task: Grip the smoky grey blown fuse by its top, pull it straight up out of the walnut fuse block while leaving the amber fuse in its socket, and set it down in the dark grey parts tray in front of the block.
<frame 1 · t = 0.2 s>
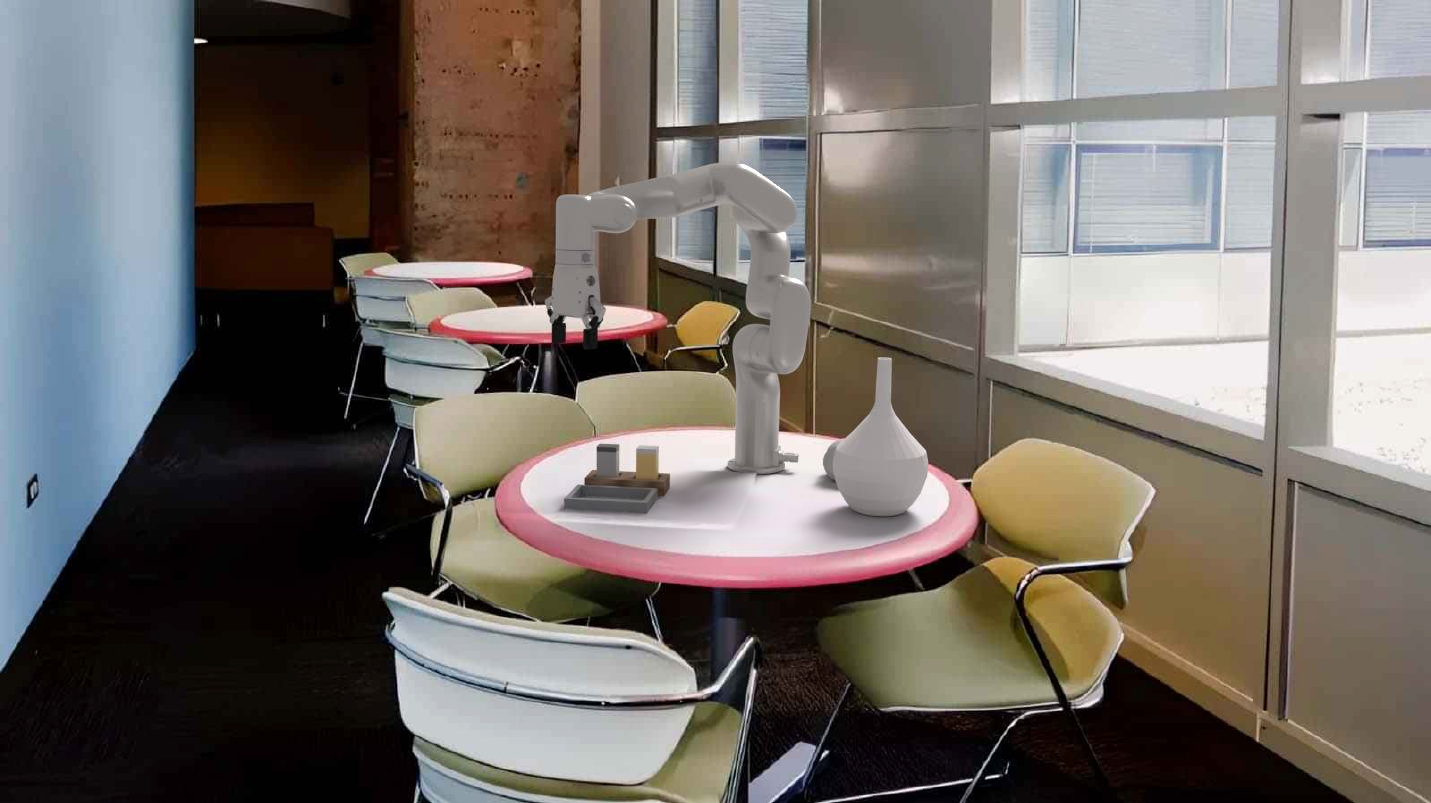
hand: (574, 346, 259), 30 cm above the table, fingers open, 9 cm apart
blown fuse: (607, 489, 264), point 1 cm above the table, touching fuse block
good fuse: (647, 491, 263), point 1 cm above the table, touching fuse block
vase: (878, 511, 256), on the table
parts tray: (611, 508, 253), on the table
fuse block: (627, 495, 263), on the table
headphones: (870, 480, 280), on the table
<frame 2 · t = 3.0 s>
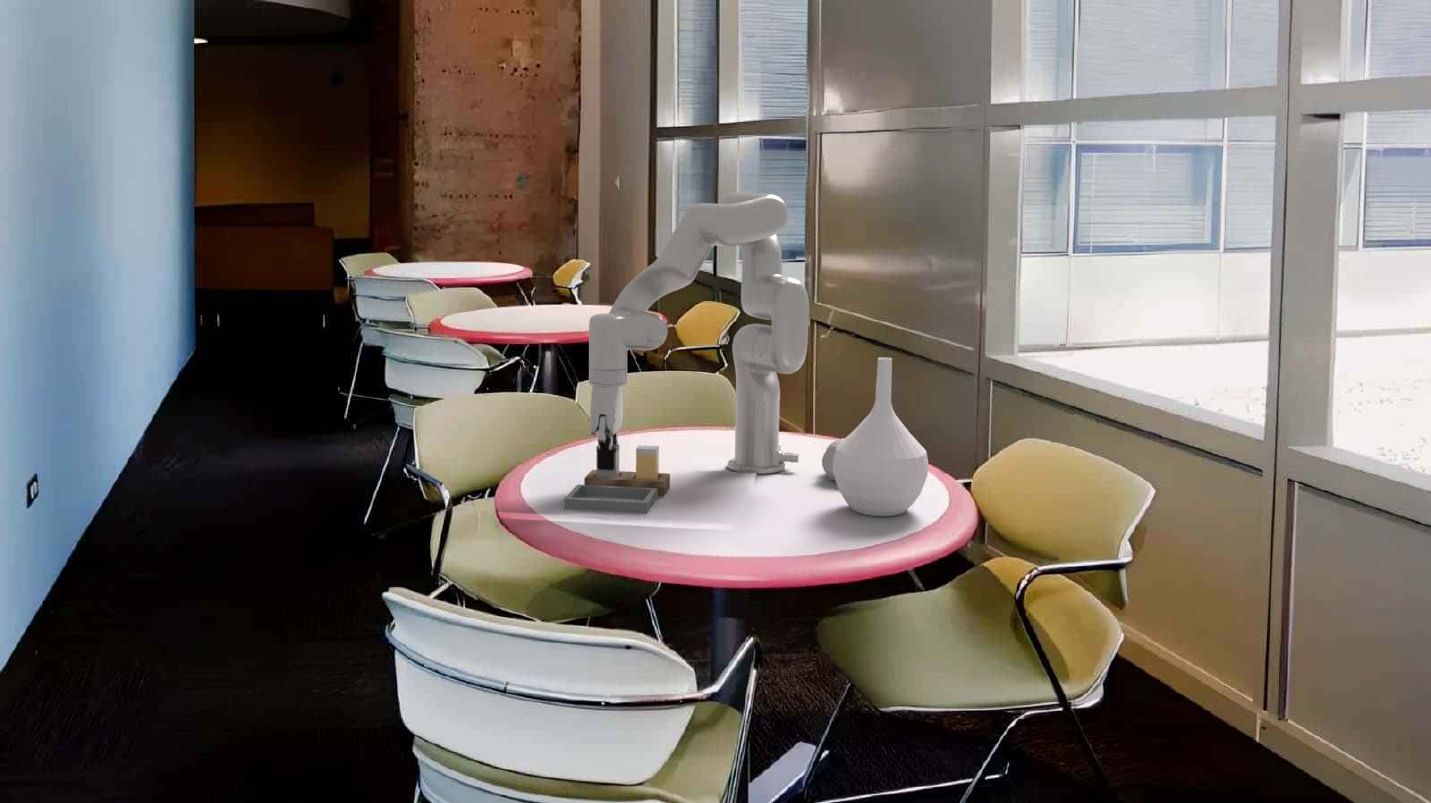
hand: (607, 466, 263), 6 cm above the table, fingers closed on blown fuse, 3 cm apart
blown fuse: (607, 489, 264), point 1 cm above the table, touching fuse block, gripper
everything else where it was.
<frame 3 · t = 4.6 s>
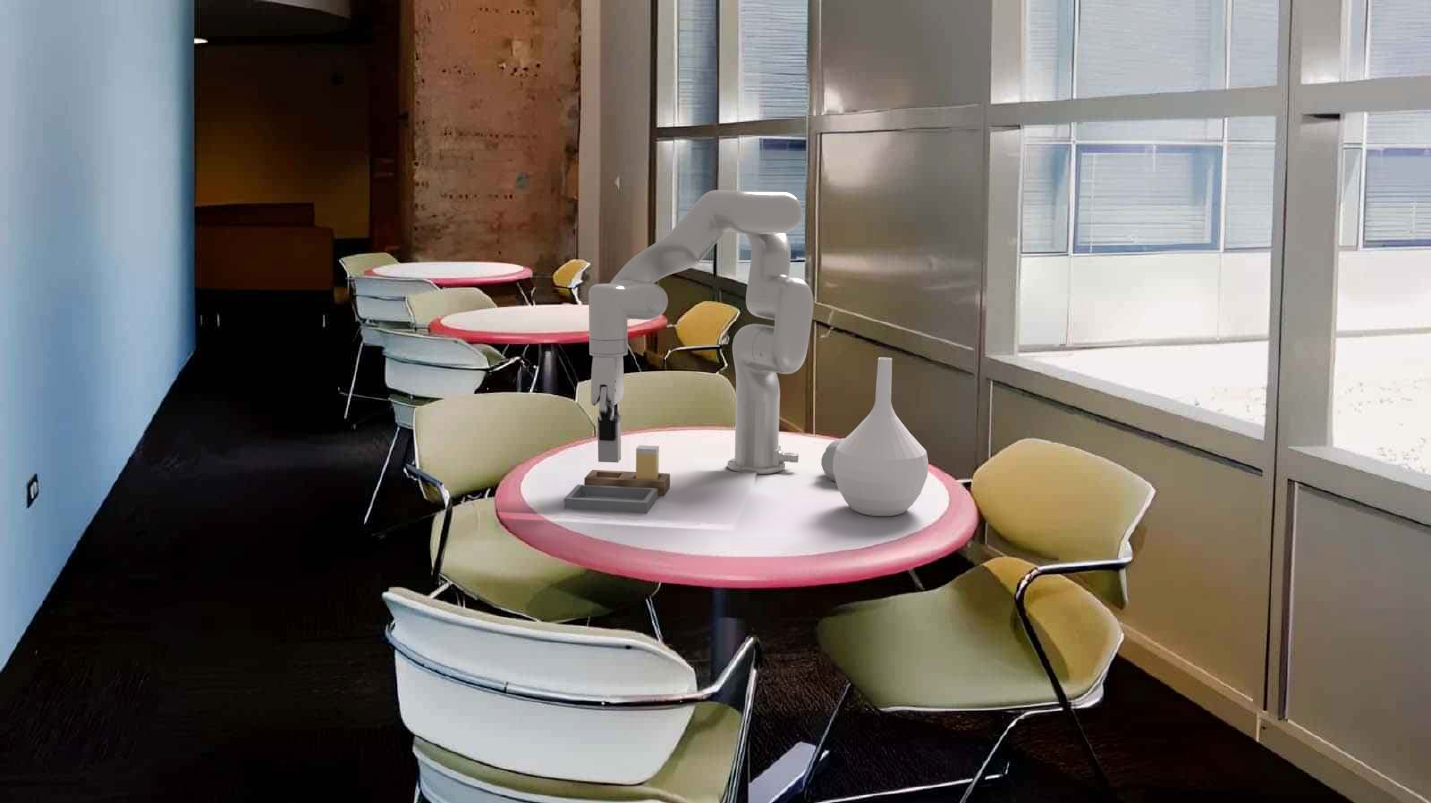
hand: (609, 437, 262), 12 cm above the table, fingers closed on blown fuse, 3 cm apart
blown fuse: (609, 460, 263), point 7 cm above the table, touching gripper
everything else where it was.
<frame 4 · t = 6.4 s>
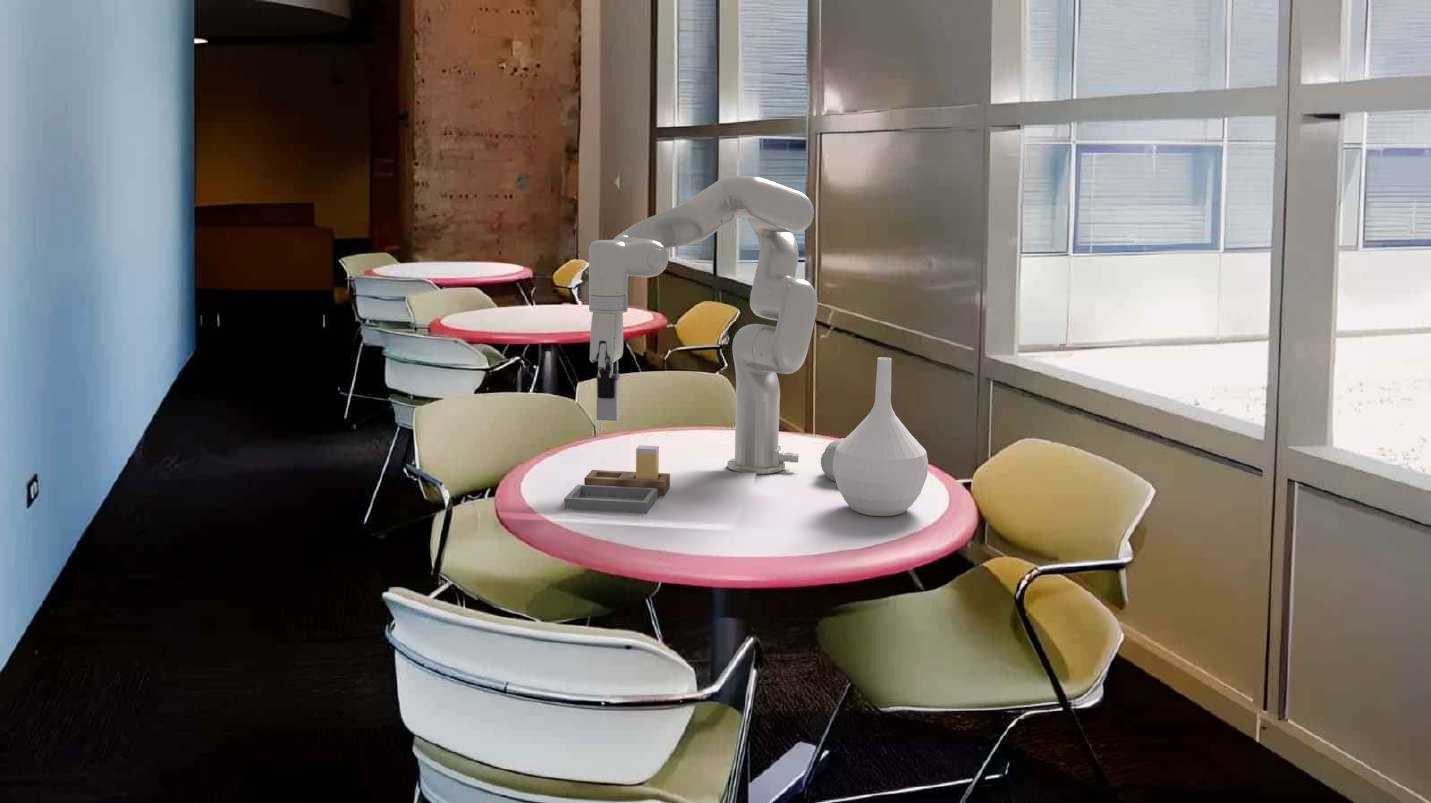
hand: (608, 395, 260), 20 cm above the table, fingers closed on blown fuse, 3 cm apart
blown fuse: (608, 418, 261), point 15 cm above the table, touching gripper
everything else where it was.
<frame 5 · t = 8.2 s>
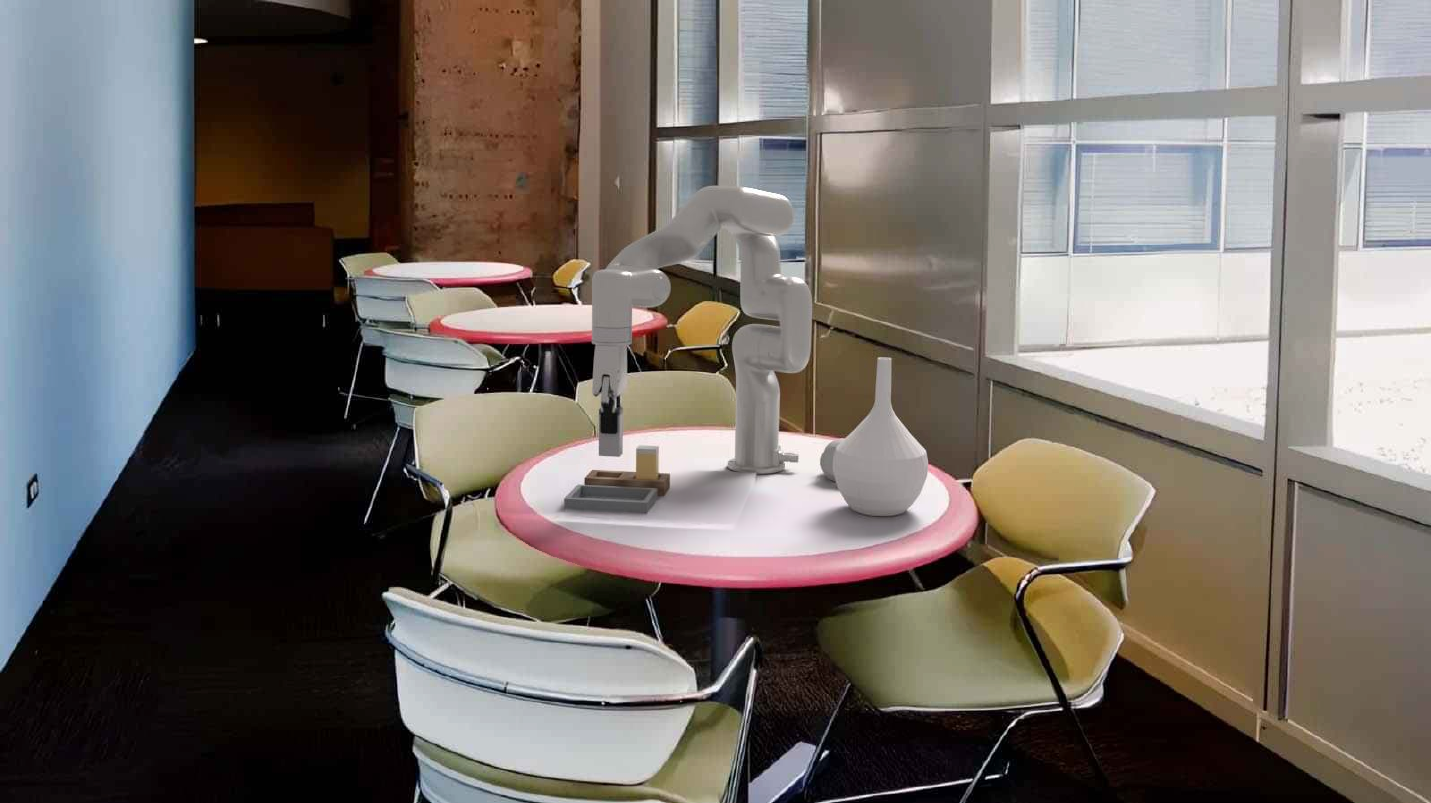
hand: (611, 430, 250), 15 cm above the table, fingers closed on blown fuse, 3 cm apart
blown fuse: (610, 454, 251), point 11 cm above the table, touching gripper
everything else where it was.
when the fingers open (7 cm above the table, at t = 9.8 s): blown fuse drops 2 cm, resting on parts tray.
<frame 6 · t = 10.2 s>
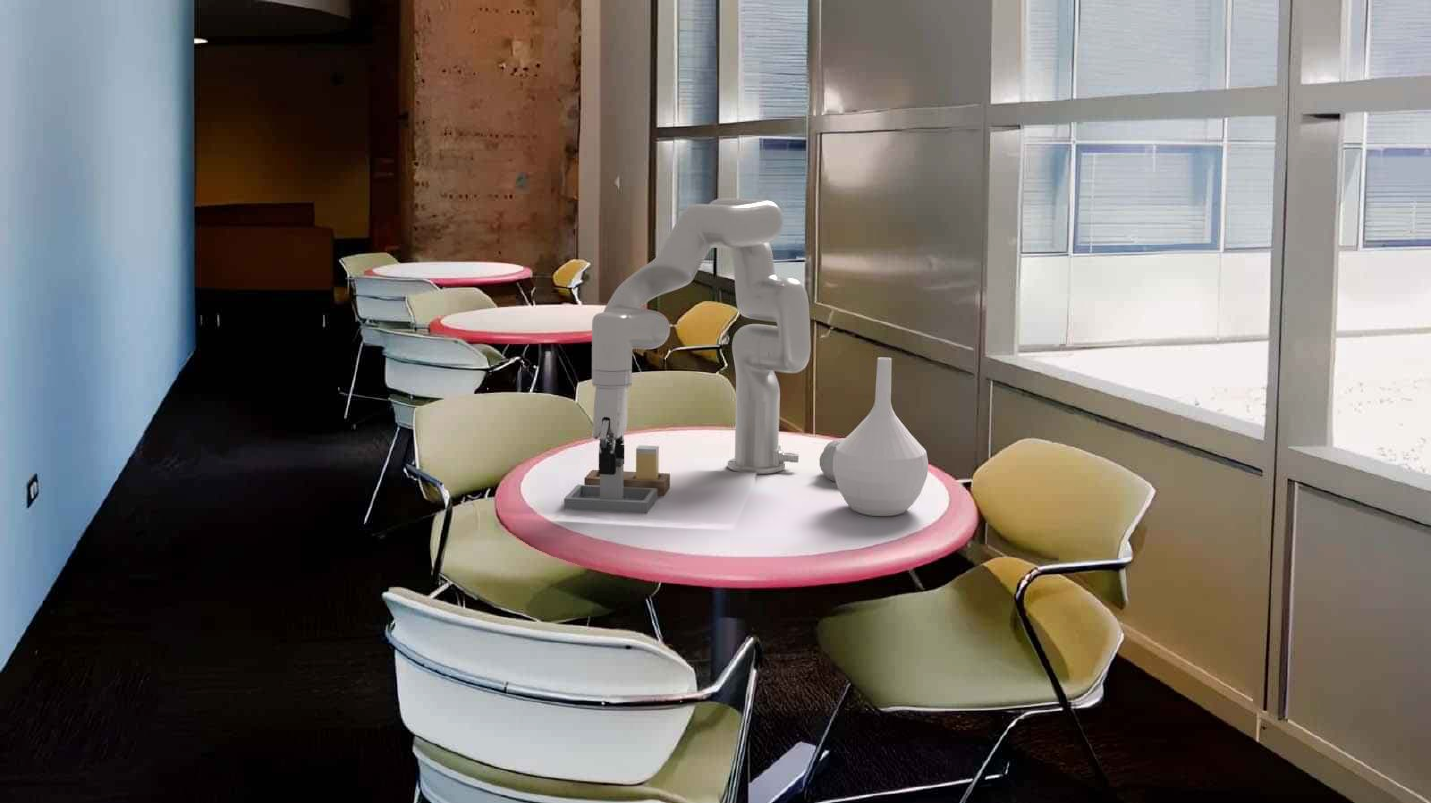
hand: (611, 468, 252), 8 cm above the table, fingers open, 7 cm apart
blown fuse: (611, 505, 253), point 1 cm above the table, touching parts tray
everything else where it was.
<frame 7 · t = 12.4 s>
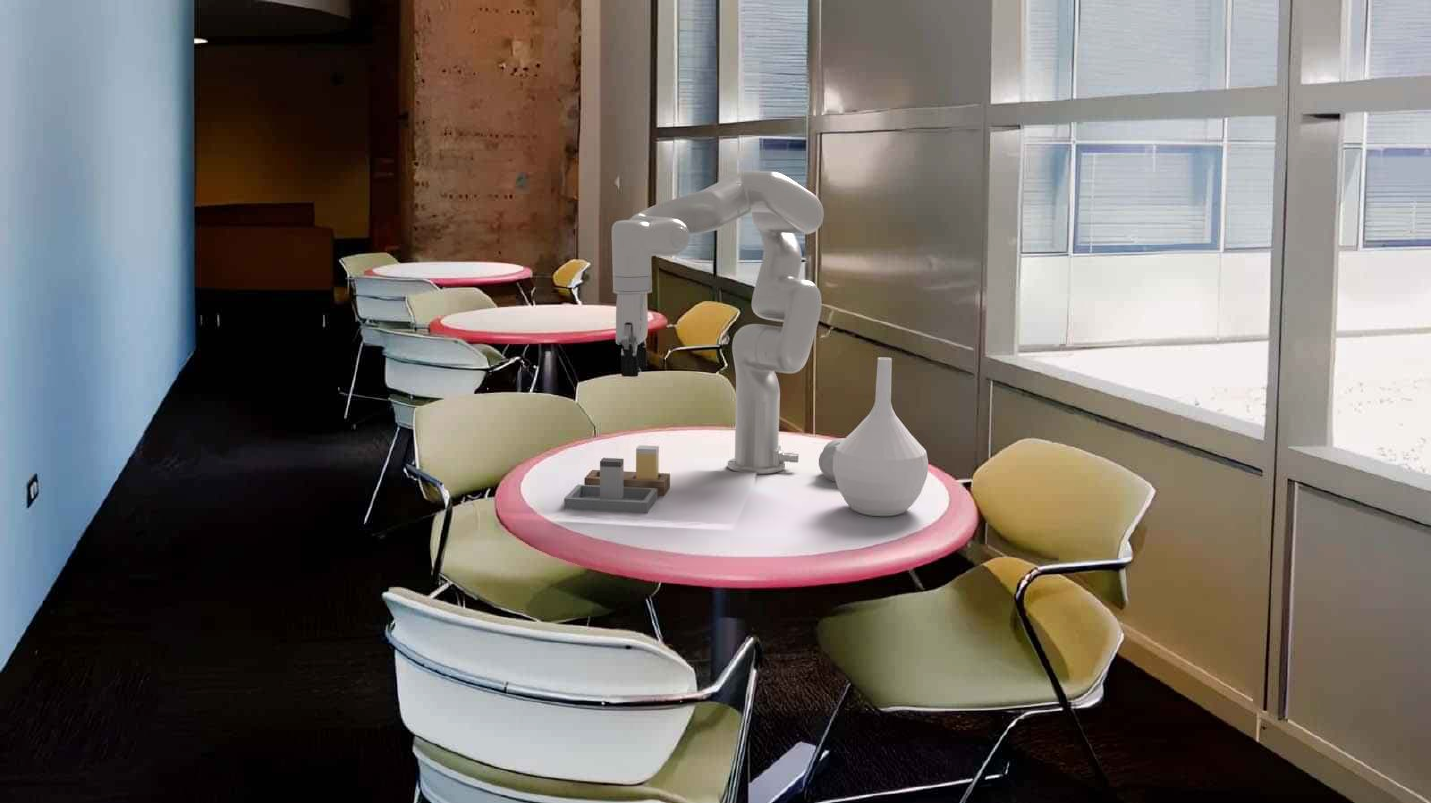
hand: (634, 371, 258), 25 cm above the table, fingers open, 9 cm apart
nothing on the table moved.
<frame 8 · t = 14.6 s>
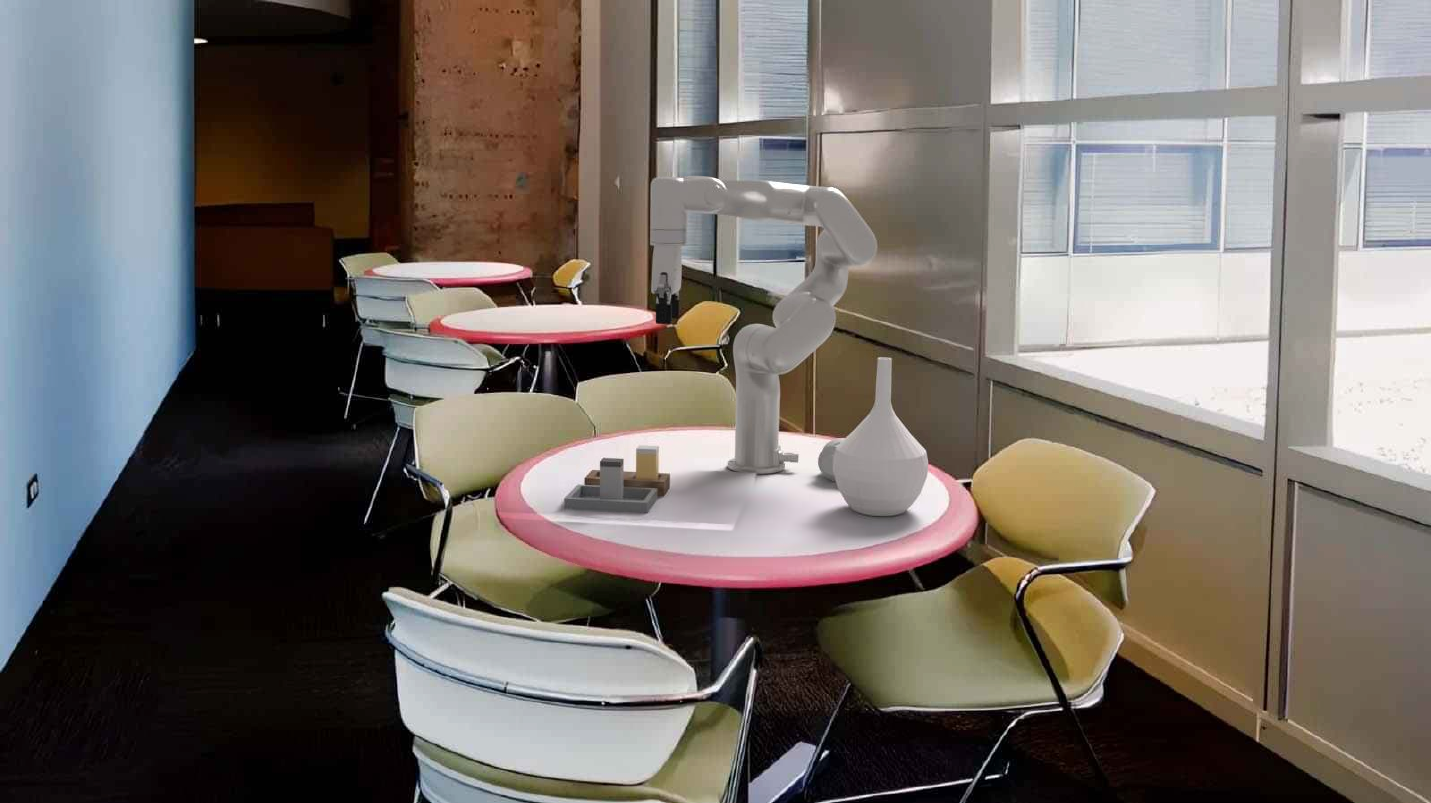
hand: (667, 320, 273), 33 cm above the table, fingers open, 9 cm apart
at the end: blown fuse inside the target area on the parts tray (0.0 cm from its centre), point 0.6 cm above the parts tray's base; the gripper is holding nothing; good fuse moved 0.0 cm from its start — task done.
